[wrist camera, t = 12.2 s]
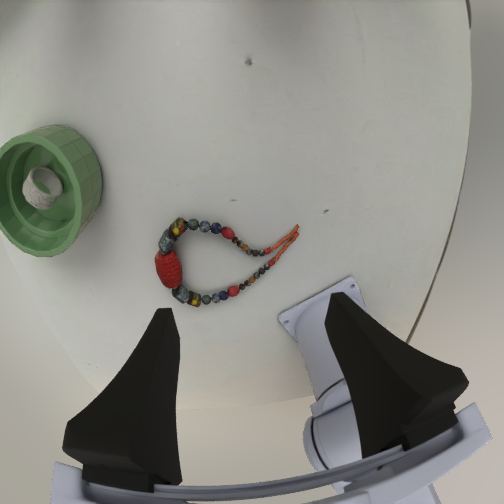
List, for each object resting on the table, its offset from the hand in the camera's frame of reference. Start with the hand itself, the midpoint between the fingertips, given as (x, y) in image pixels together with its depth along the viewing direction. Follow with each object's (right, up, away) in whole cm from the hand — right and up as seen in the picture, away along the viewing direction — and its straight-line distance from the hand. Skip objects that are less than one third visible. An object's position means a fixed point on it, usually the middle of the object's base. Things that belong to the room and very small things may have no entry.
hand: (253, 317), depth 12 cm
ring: (-14, +8, +3) cm, 17 cm away
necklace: (-2, +3, +9) cm, 10 cm away
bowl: (-14, +8, +4) cm, 17 cm away
